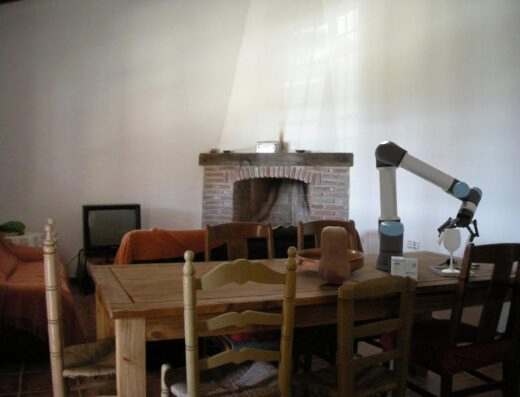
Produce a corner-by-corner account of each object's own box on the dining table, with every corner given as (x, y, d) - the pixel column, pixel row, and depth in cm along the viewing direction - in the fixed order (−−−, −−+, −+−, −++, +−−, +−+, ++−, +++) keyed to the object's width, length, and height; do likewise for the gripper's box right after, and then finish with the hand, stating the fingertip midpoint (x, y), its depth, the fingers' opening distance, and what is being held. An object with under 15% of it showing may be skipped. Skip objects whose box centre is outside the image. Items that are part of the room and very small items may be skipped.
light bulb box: (414, 280, 221) (415, 256, 220) (417, 283, 214) (418, 259, 214) (390, 279, 222) (390, 255, 221) (392, 282, 215) (393, 258, 215)
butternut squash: (340, 279, 219) (341, 224, 217) (355, 286, 206) (357, 227, 205) (312, 281, 214) (313, 224, 213) (326, 288, 201) (328, 228, 200)
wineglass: (437, 271, 241) (438, 228, 240) (451, 269, 245) (452, 228, 244) (450, 274, 233) (452, 230, 232) (464, 273, 237) (465, 230, 236)
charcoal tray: (442, 276, 230) (442, 272, 230) (428, 269, 246) (428, 266, 246) (475, 276, 231) (475, 272, 231) (458, 269, 247) (458, 266, 247)
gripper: (493, 219, 240) (480, 253, 231) (444, 215, 258) (430, 246, 248) (490, 209, 236) (476, 242, 227) (440, 206, 254) (425, 237, 244)
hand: (452, 244), depth 237 cm, fingers open, 13 cm apart
